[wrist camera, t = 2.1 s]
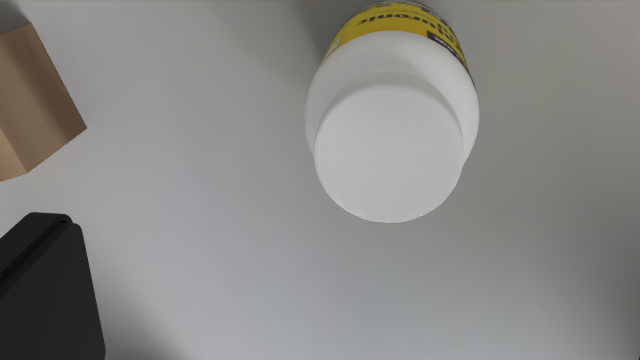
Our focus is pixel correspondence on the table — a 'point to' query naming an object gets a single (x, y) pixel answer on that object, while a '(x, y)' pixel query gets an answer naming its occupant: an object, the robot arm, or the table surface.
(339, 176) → the supplement bottle
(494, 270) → the table surface
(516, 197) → the table surface
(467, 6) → the table surface
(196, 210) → the table surface
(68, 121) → the walnut block
